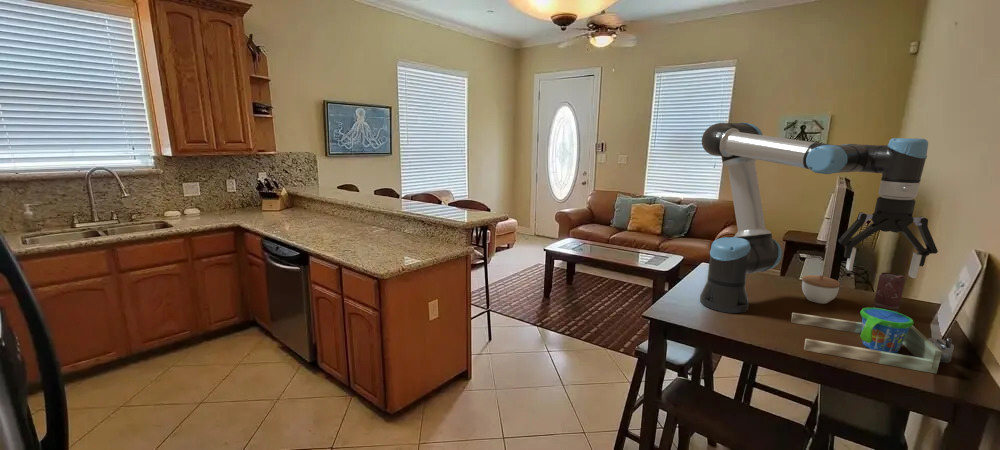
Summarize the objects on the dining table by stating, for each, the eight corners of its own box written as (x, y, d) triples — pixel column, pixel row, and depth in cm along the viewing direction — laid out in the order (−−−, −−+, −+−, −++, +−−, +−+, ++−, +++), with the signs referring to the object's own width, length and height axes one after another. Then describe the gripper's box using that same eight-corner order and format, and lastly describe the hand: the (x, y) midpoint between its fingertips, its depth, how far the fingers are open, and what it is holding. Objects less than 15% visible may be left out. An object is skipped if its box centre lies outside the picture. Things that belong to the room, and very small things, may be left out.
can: (902, 319, 134) (911, 278, 131) (879, 318, 135) (888, 277, 132) (889, 312, 140) (897, 272, 137) (867, 310, 141) (875, 271, 138)
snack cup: (879, 336, 123) (885, 304, 121) (922, 354, 113) (930, 319, 111) (838, 343, 119) (845, 310, 117) (880, 362, 109) (887, 326, 107)
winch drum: (931, 362, 108) (937, 337, 107) (919, 351, 114) (925, 327, 113) (957, 367, 106) (963, 341, 105) (944, 355, 112) (950, 330, 110)
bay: (804, 350, 115) (808, 330, 114) (790, 321, 133) (793, 303, 132) (936, 373, 103) (941, 351, 102) (901, 338, 121) (906, 319, 120)
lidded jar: (841, 301, 148) (845, 276, 146) (829, 308, 142) (834, 282, 140) (806, 292, 157) (810, 269, 155) (794, 298, 151) (798, 274, 149)
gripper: (841, 195, 112) (827, 270, 117) (969, 203, 101) (947, 284, 106) (834, 192, 119) (821, 262, 123) (953, 198, 108) (933, 275, 113)
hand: (879, 273), depth 115 cm, fingers open, 13 cm apart
